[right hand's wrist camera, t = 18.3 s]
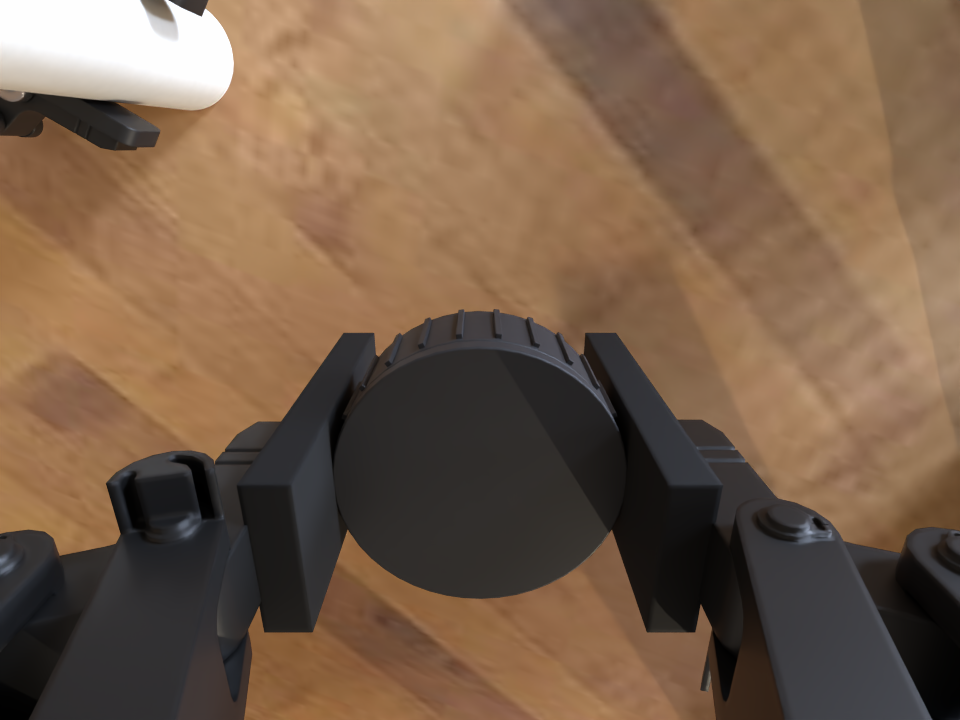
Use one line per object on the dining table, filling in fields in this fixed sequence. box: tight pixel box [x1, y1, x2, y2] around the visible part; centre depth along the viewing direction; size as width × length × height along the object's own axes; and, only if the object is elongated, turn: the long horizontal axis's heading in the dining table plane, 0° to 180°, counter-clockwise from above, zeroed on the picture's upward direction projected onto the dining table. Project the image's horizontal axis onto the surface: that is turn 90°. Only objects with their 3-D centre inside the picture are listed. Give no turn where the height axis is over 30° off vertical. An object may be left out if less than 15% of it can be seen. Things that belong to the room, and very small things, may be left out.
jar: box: [0, 0, 233, 110], centre depth 19 cm, size 5×5×16 cm
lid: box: [333, 309, 627, 599], centre depth 11 cm, size 5×5×2 cm
